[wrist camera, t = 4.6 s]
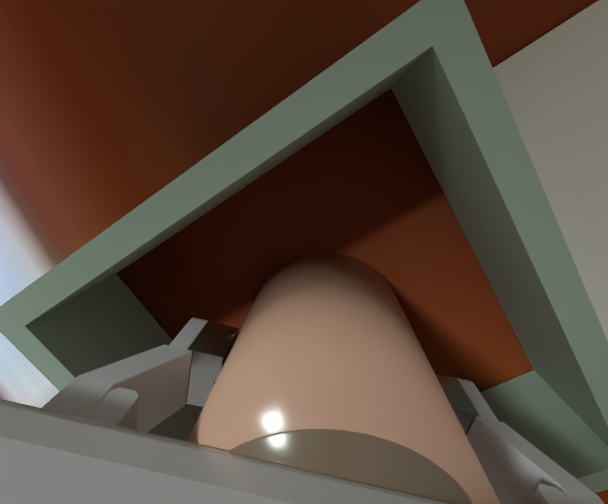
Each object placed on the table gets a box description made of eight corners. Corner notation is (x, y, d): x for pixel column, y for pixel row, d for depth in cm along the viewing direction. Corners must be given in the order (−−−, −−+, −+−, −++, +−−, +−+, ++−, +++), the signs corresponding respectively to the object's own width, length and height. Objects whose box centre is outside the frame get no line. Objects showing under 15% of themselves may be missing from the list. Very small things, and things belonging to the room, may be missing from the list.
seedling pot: (224, 299, 12) (89, 492, 5) (353, 223, 11) (403, 345, 4) (303, 402, 14) (279, 669, 7) (426, 345, 13) (561, 600, 5)
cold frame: (89, 267, 12) (-15, 317, 9) (401, 48, 9) (453, -24, 6) (279, 488, 16) (264, 596, 12) (560, 376, 13) (662, 472, 9)
